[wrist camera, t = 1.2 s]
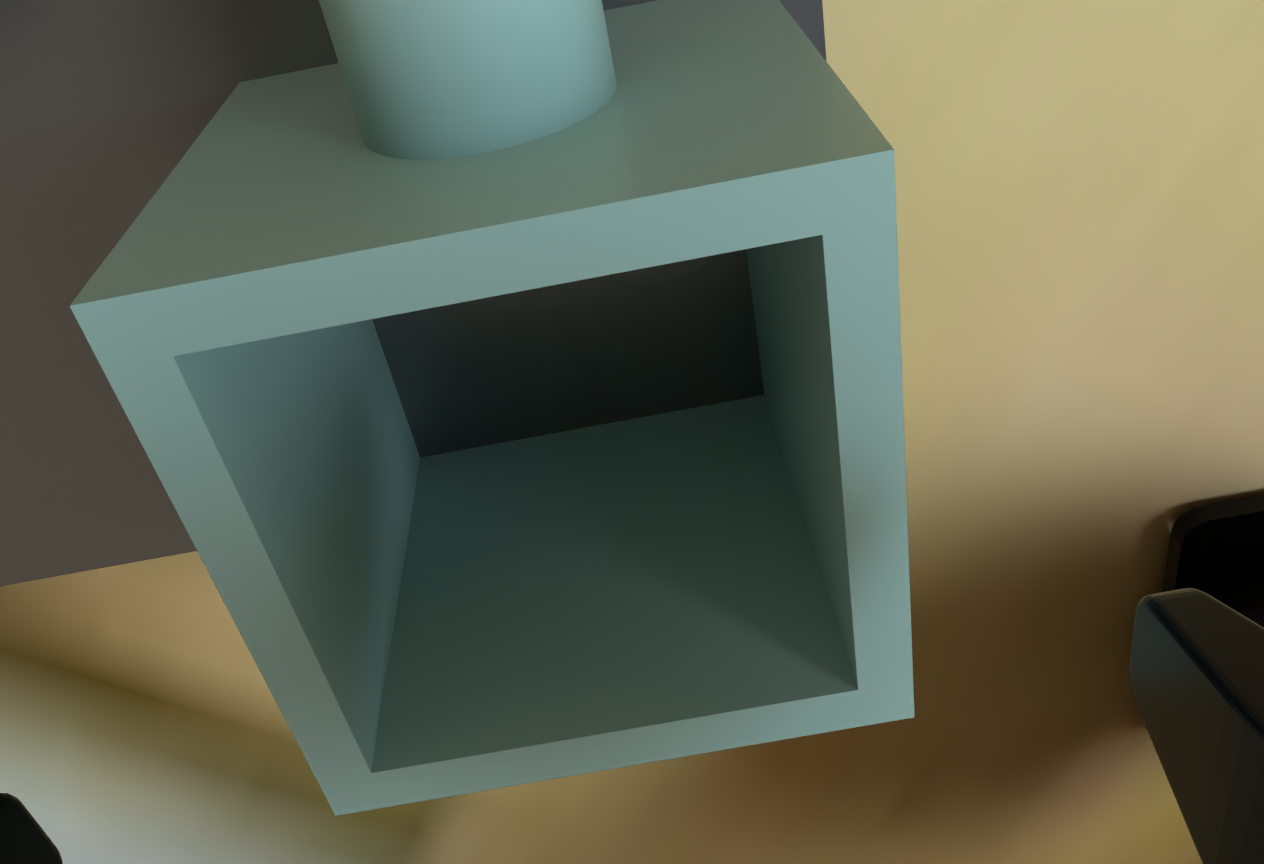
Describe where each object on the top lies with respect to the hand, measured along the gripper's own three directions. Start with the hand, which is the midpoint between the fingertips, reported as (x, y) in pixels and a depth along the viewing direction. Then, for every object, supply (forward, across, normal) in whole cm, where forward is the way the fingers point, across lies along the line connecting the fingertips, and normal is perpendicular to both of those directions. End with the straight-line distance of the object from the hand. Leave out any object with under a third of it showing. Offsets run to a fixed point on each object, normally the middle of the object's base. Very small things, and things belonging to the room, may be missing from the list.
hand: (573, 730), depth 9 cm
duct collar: (+8, 0, -2) cm, 8 cm away
